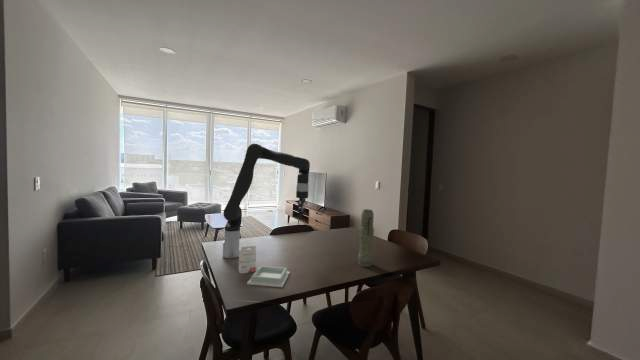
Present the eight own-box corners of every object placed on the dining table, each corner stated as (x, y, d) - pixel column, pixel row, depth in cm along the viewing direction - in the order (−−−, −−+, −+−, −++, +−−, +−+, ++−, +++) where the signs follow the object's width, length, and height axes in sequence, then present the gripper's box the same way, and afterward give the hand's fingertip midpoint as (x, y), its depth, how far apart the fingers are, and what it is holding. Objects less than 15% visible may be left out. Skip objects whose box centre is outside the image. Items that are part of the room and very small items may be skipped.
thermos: (366, 260, 175) (368, 208, 173) (375, 267, 164) (378, 211, 162) (354, 261, 172) (357, 208, 170) (363, 268, 161) (366, 211, 159)
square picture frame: (247, 284, 132) (247, 277, 132) (258, 270, 150) (258, 264, 150) (282, 287, 130) (282, 280, 130) (289, 273, 148) (289, 267, 148)
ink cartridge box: (253, 268, 152) (254, 243, 152) (255, 271, 148) (256, 246, 147) (238, 270, 148) (239, 244, 148) (239, 274, 144) (240, 247, 143)
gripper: (298, 189, 172) (297, 213, 173) (294, 190, 158) (293, 217, 159) (309, 189, 172) (308, 214, 172) (306, 191, 158) (305, 218, 158)
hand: (301, 216), depth 166 cm, fingers open, 8 cm apart
